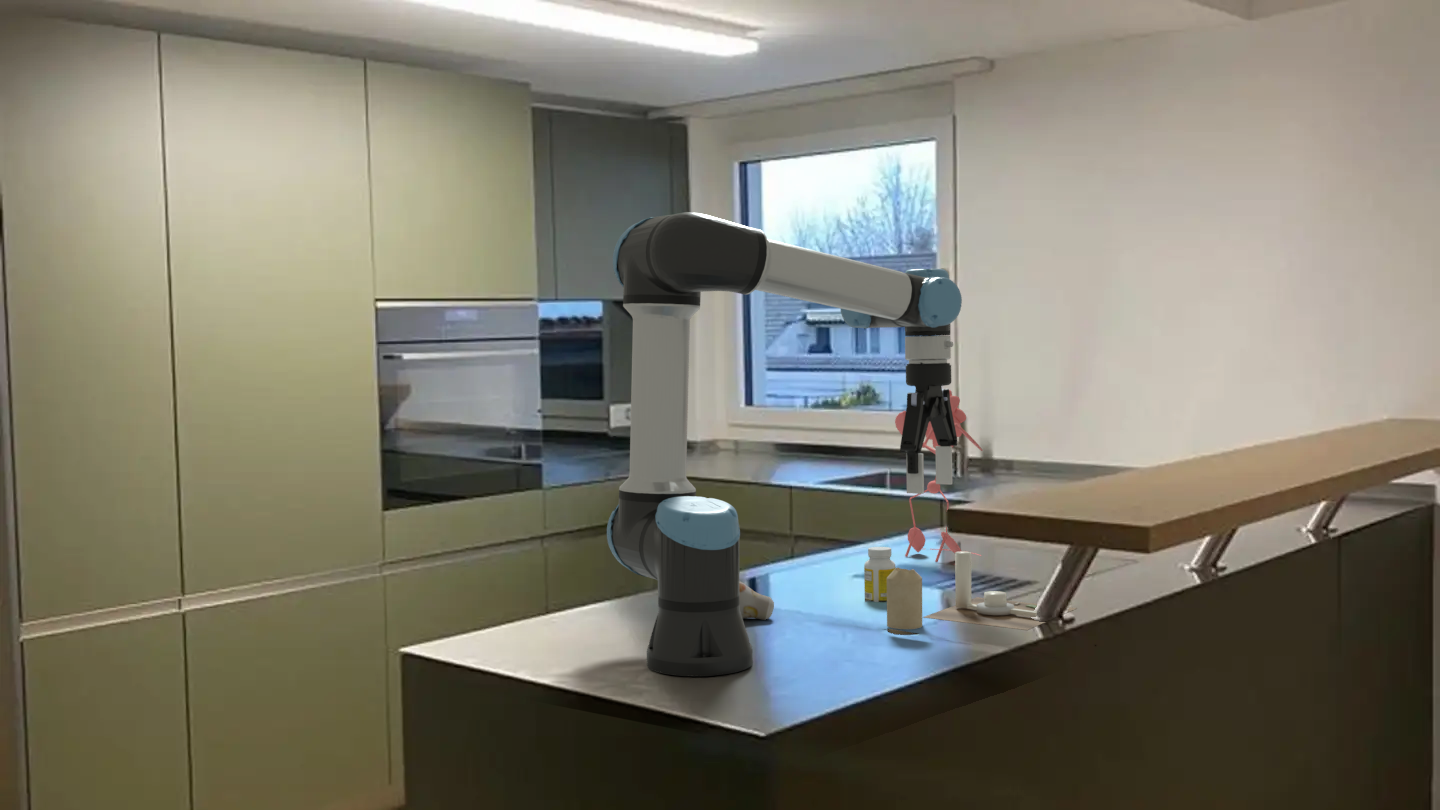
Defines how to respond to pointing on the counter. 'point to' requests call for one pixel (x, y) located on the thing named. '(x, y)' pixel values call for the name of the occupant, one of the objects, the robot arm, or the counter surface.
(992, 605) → the handle
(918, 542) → the figurine
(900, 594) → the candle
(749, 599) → the mug
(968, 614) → the board
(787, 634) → the counter surface
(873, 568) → the supplement bottle
